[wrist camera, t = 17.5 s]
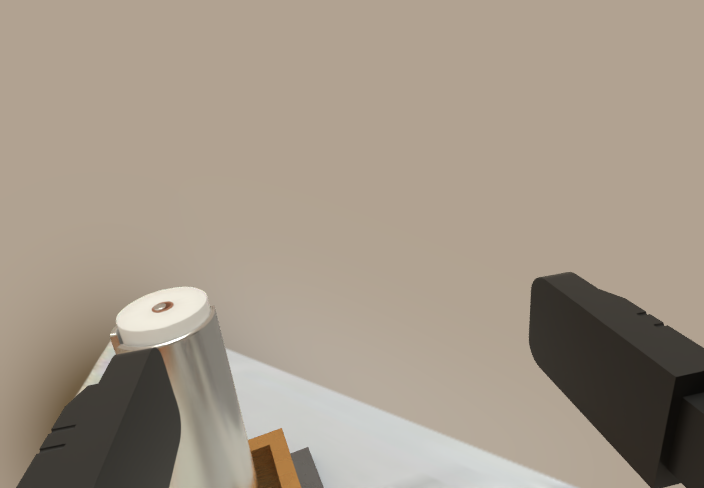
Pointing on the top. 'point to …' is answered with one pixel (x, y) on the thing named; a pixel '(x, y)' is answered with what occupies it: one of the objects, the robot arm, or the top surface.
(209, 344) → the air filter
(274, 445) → the dock
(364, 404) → the top surface
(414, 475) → the top surface
